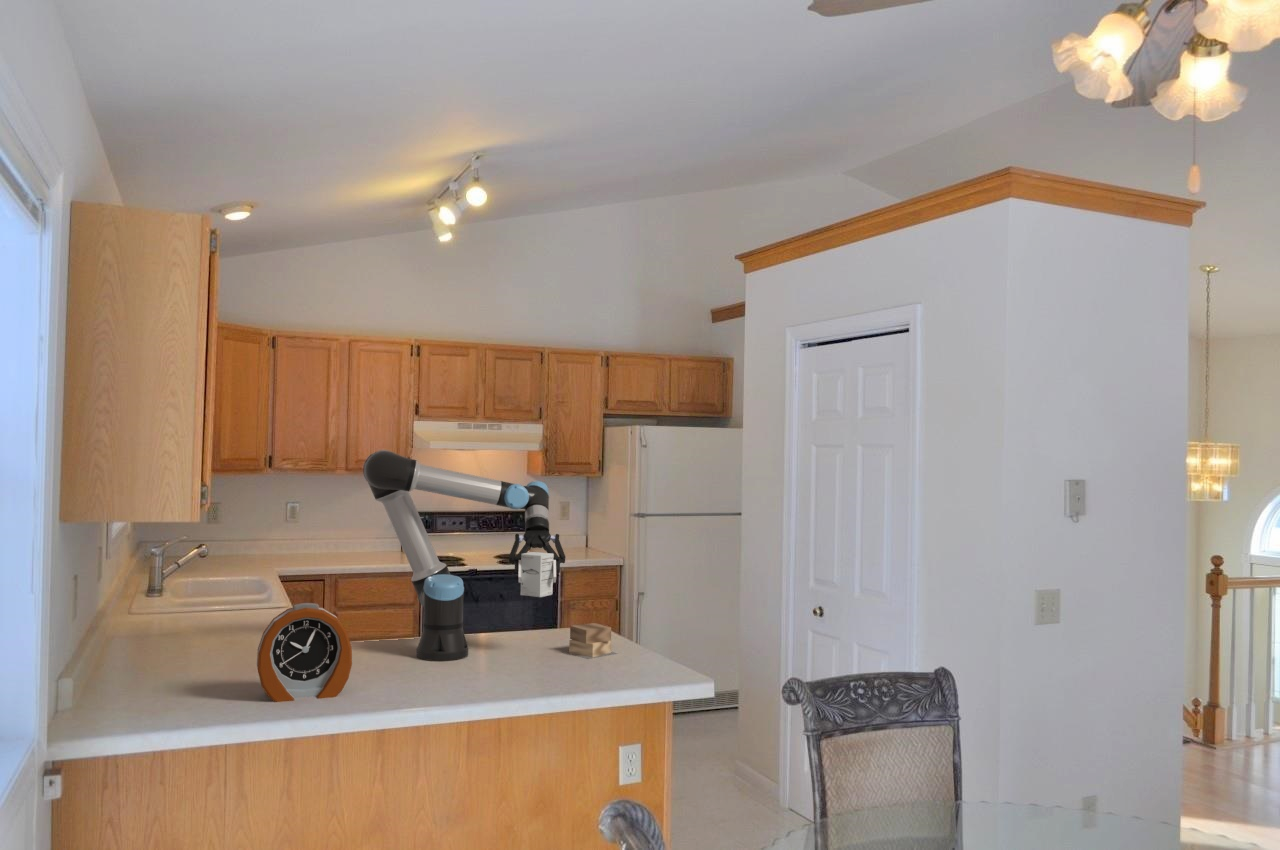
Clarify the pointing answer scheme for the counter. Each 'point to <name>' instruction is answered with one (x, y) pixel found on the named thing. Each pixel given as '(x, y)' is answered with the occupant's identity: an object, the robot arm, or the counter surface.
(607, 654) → the slate mat
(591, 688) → the counter surface
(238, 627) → the counter surface
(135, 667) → the counter surface
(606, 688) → the counter surface
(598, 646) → the bottom block
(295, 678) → the alarm clock
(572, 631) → the top block
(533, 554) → the supplement box
